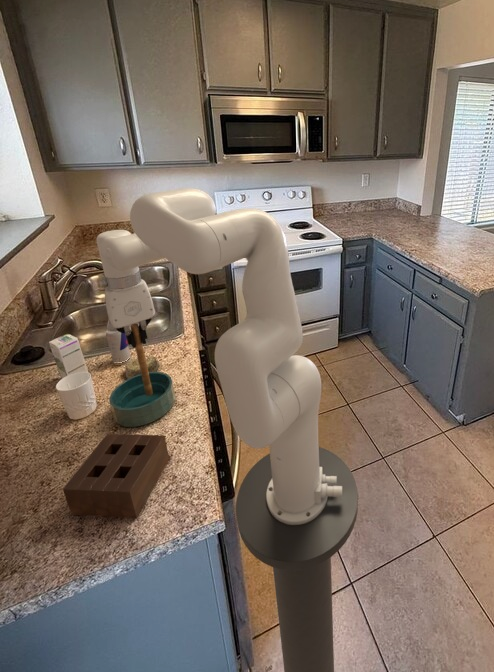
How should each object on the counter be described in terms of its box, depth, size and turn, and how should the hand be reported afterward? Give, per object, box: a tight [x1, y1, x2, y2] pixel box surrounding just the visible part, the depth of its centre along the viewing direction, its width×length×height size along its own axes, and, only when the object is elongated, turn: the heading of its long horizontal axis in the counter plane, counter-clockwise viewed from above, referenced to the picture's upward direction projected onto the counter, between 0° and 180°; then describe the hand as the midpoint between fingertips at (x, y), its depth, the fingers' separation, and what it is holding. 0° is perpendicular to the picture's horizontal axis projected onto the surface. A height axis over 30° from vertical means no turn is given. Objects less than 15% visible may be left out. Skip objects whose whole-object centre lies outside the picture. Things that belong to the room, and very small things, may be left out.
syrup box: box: [48, 333, 89, 380], centre depth 109 cm, size 6×6×14 cm
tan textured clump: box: [124, 354, 160, 380], centre depth 114 cm, size 10×10×5 cm
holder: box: [62, 433, 170, 519], centre depth 76 cm, size 14×14×7 cm
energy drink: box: [105, 329, 132, 366], centre depth 119 cm, size 5×5×12 cm
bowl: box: [109, 371, 176, 428], centre depth 98 cm, size 15×15×6 cm
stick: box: [129, 323, 153, 396], centre depth 96 cm, size 2×2×22 cm
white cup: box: [55, 371, 98, 421], centre depth 97 cm, size 8×8×10 cm
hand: (138, 343), depth 95 cm, fingers closed on stick, 1 cm apart
